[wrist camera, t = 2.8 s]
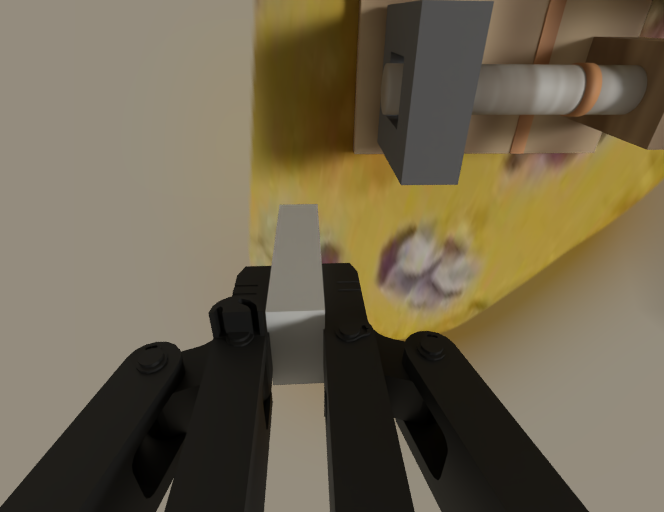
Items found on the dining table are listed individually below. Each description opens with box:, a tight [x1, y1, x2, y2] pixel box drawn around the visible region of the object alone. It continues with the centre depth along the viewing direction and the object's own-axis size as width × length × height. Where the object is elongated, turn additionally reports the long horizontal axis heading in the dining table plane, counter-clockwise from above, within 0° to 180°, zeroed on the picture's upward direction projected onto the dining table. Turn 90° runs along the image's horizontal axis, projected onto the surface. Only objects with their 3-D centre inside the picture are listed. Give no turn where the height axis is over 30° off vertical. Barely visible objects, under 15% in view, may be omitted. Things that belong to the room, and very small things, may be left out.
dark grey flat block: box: [377, 0, 494, 185], centre depth 21 cm, size 3×8×8 cm, turn 179°
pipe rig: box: [353, 0, 664, 154], centre depth 22 cm, size 18×10×8 cm, turn 89°
